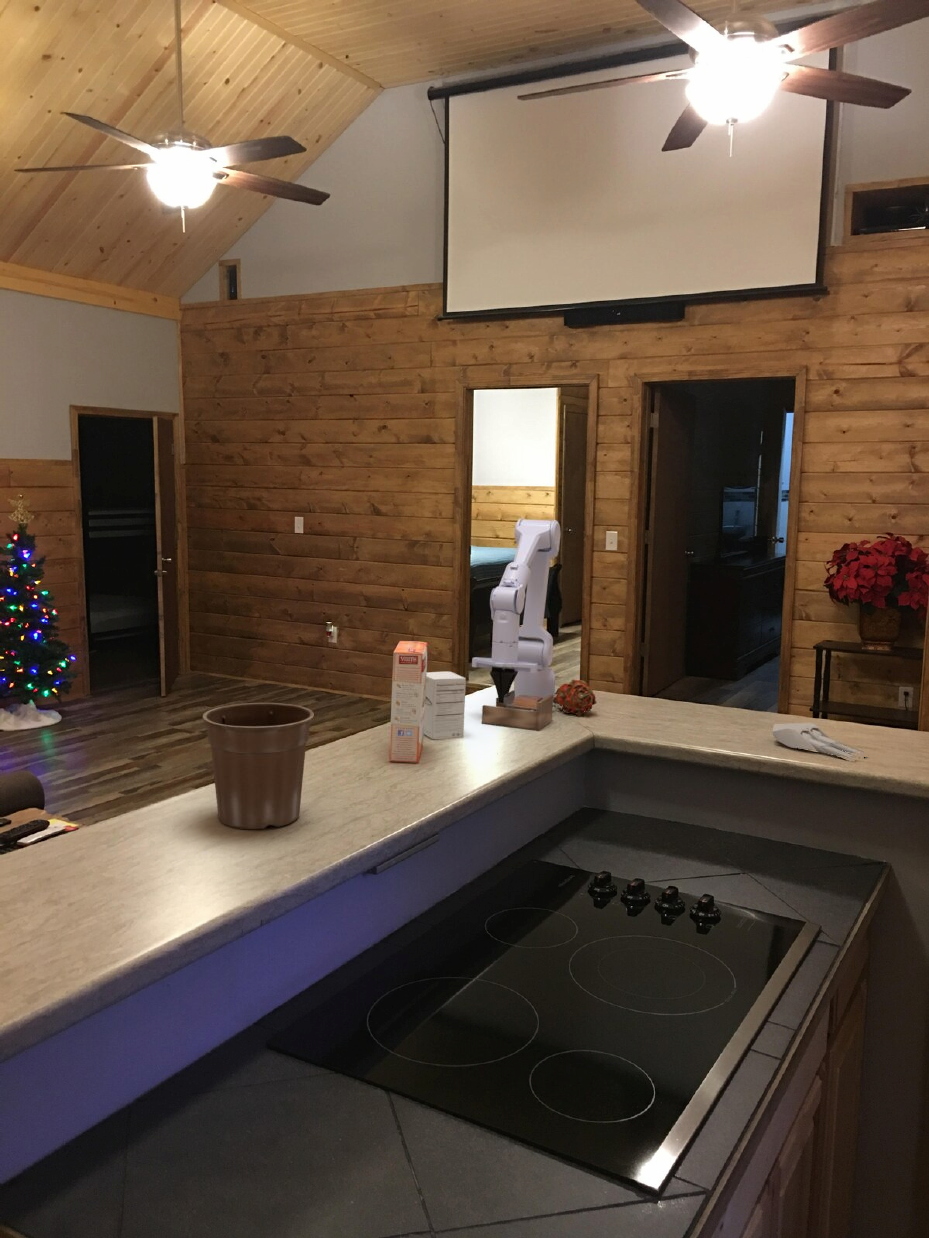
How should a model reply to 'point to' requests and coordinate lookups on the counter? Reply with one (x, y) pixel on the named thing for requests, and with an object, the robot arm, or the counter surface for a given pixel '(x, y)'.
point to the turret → (810, 739)
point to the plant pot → (258, 762)
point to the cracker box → (408, 701)
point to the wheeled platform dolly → (521, 701)
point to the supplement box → (444, 705)
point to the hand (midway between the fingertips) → (502, 701)
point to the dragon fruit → (575, 697)
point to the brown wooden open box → (519, 715)
